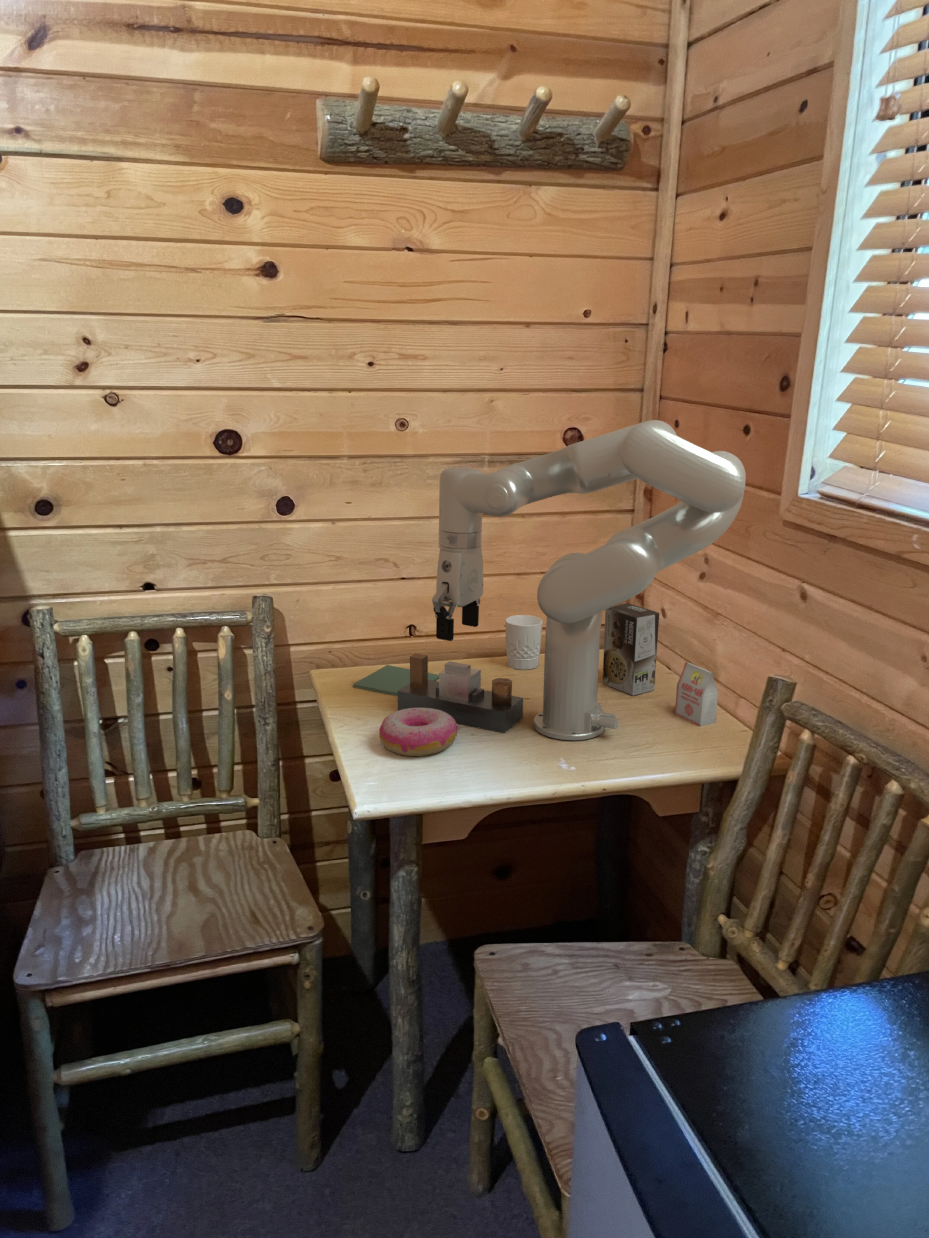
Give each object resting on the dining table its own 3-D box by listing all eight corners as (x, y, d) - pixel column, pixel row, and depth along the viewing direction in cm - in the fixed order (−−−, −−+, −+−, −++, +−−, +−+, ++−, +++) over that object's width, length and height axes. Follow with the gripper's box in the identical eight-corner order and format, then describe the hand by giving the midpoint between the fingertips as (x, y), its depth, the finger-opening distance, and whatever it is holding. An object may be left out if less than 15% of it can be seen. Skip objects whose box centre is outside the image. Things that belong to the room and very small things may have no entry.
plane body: (397, 710, 173) (397, 660, 170) (419, 697, 179) (418, 648, 177) (504, 733, 163) (505, 680, 160) (522, 717, 170) (524, 666, 167)
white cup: (529, 673, 193) (531, 627, 190) (497, 666, 197) (498, 621, 194) (547, 663, 199) (549, 618, 196) (516, 656, 203) (517, 612, 200)
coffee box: (655, 690, 184) (661, 612, 179) (632, 696, 180) (637, 617, 176) (623, 677, 191) (628, 602, 186) (600, 683, 188) (604, 606, 183)
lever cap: (439, 695, 169) (439, 666, 168) (451, 687, 173) (452, 658, 172) (468, 701, 167) (468, 671, 165) (480, 692, 171) (480, 663, 169)
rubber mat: (441, 677, 190) (441, 675, 190) (408, 698, 179) (408, 695, 179) (387, 667, 196) (387, 664, 195) (352, 686, 184) (352, 684, 184)
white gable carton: (689, 710, 174) (693, 660, 171) (715, 722, 168) (720, 671, 165) (674, 714, 172) (678, 663, 169) (700, 726, 166) (704, 674, 164)
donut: (447, 725, 167) (447, 699, 165) (466, 756, 154) (466, 728, 153) (373, 732, 163) (372, 706, 162) (387, 764, 151) (386, 736, 149)
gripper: (455, 551, 153) (453, 649, 158) (500, 533, 168) (497, 623, 172) (416, 545, 156) (415, 641, 161) (463, 528, 171) (461, 617, 176)
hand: (457, 632), depth 167 cm, fingers open, 9 cm apart
